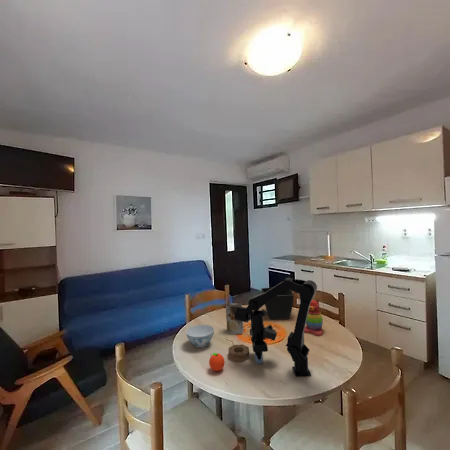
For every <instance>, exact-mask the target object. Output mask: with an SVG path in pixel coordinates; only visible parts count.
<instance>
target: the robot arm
mask: <svg viewBox="0 0 450 450" xmlns="http://www.w3.org/2000/svg"><path fill="white" fill-rule="evenodd" d="M271 288H272V289H270V290H268V291H267V292H264V293H262V292H261V293H259V294H258V293H257V294H256V295H254V296H253V297H252V298H250V299H249V300H248V303H247V304H248V305H247V306H244V307H243V306H242V307H241V306H238V307H236V312H235V315H234V317H235V320H236V321H240V322H243V323H249V321H250V329H249V336H251V337H250V342H251V344H252V345H251V347H252V351H253V353H254V355H255V354H256V356H257V358H258V360H260V359H261V355H262V352H263V353H265V352H266V353H267V352H268V349H269V348H268V343H267V342H266V341H265V340H266V339H268V340H271V341H273V342H274V341H276V338H277V335H278V333H277V331H276V330H275V329H274V328H273V325H271V324H268V325H267V326H265V324H264V317H266V316H268V313H267V310H266V309H264V308H263V309H261V308H262V307H263V306H265V303H266V302H267V301H269V300H270V299H272V298H274V297H275V296H277V295H279V294H280V293H282V292H284V291H285V290H287V289H290V290H291V292H294V293H296V294H299V307H298V311H297V312H298V313H297V316H296V320H295V321H296V322H295V326H294V329H293V331H291V332H290V333H289V335H288V336H287V343H286V344H285V346H286V350H287V352H288V353H289V355H290V357H291V360H292V362H293V366H292V367H291V368H292V371H293V374H294V375H295V377H311V376H312V373H311V371H310V369H309V357H308V356H309V352H310V348H308V346H307V345H306V344H305V332H304V329H305V327H306V326H307V324H306V321H307V316H308V312H309V307H310V303H311V301H312V300H314V296H315V295H316V292H317V290H318V285H317V284H316V282H315V281H313V280H310V279H309V280H304V279H300V278H299V279H297V278H292V277H286V278H285V279H284V280H283V281H281V282H280V283H278V284H276V285H275V286H273V287H271Z"/></svg>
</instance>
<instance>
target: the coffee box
mask: <svg viewBox="0 0 450 450" xmlns="http://www.w3.org/2000/svg"><path fill="white" fill-rule="evenodd" d="M238 306H241V307H243V303H241V302H240V303H239V302H234V303H233V302H228V303H226V305H225V317H226V320H225V321H226V333H227V334H230V335H231V334H232V335H233V334H235V335H243V333H244V330H245V329H244V328H245V327H244V322H240V321H236V320H235V317H234V315H235V312H236V307H238Z"/></svg>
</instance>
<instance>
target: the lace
mask: <svg viewBox="0 0 450 450" xmlns="http://www.w3.org/2000/svg"><path fill="white" fill-rule="evenodd" d="M225 339H226V340H228V341H230V342H232V346H233V345H236V344H235V341H234V340H232V339H231V338H228V337H225Z"/></svg>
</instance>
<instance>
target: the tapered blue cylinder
mask: <svg viewBox="0 0 450 450" xmlns="http://www.w3.org/2000/svg"><path fill="white" fill-rule="evenodd" d="M263 353H264V352H262V355H261V359H260V360H258V358H257V356H256V354H255V353H254V363H255V364H256V365H262V364H263V363H264V356H263V355H264V354H263Z"/></svg>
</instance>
